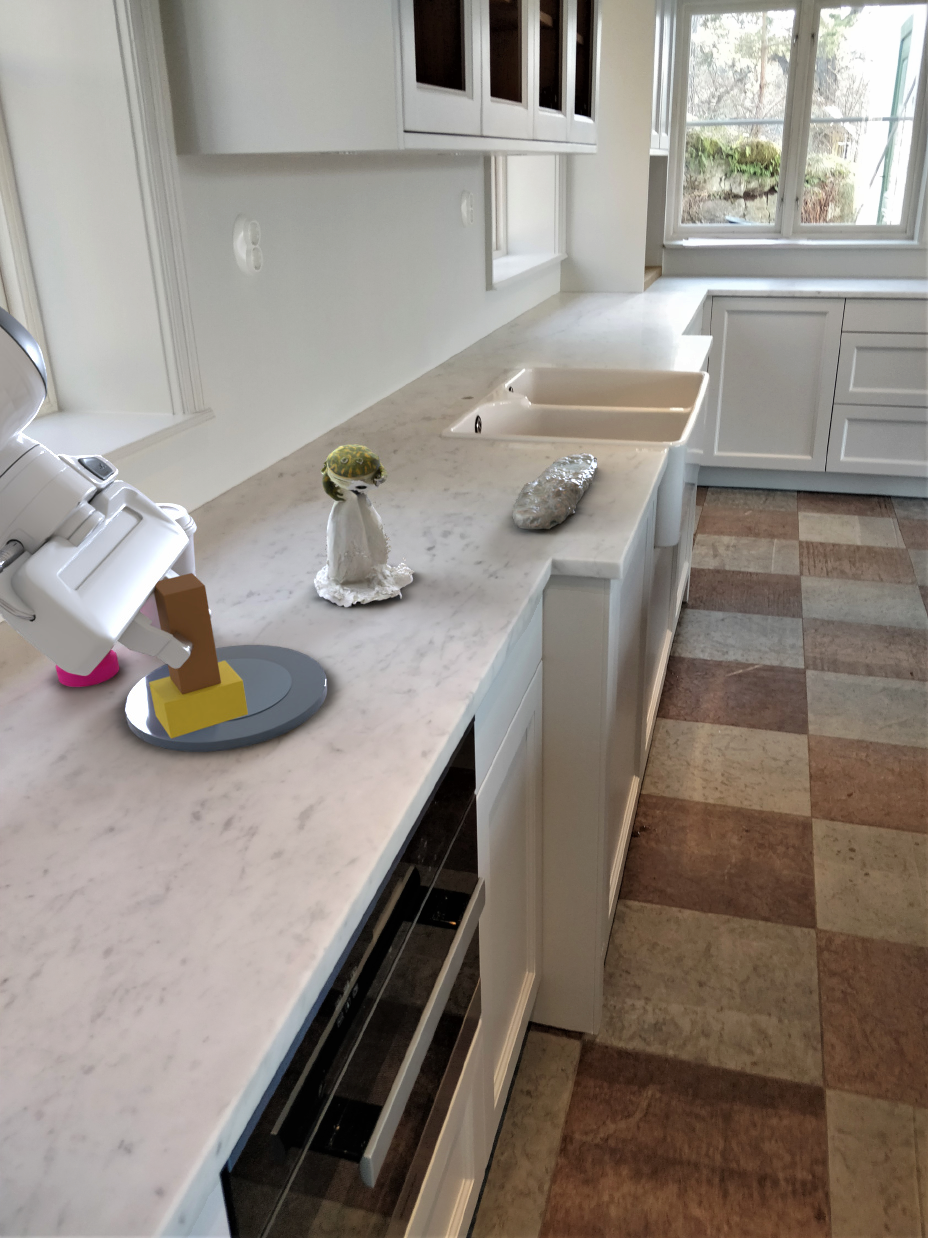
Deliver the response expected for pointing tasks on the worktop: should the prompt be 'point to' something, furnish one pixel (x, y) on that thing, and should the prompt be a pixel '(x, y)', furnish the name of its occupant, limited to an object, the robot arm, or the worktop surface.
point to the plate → (274, 693)
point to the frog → (356, 532)
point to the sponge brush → (193, 664)
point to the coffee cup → (183, 563)
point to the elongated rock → (554, 492)
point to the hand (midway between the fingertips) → (196, 641)
